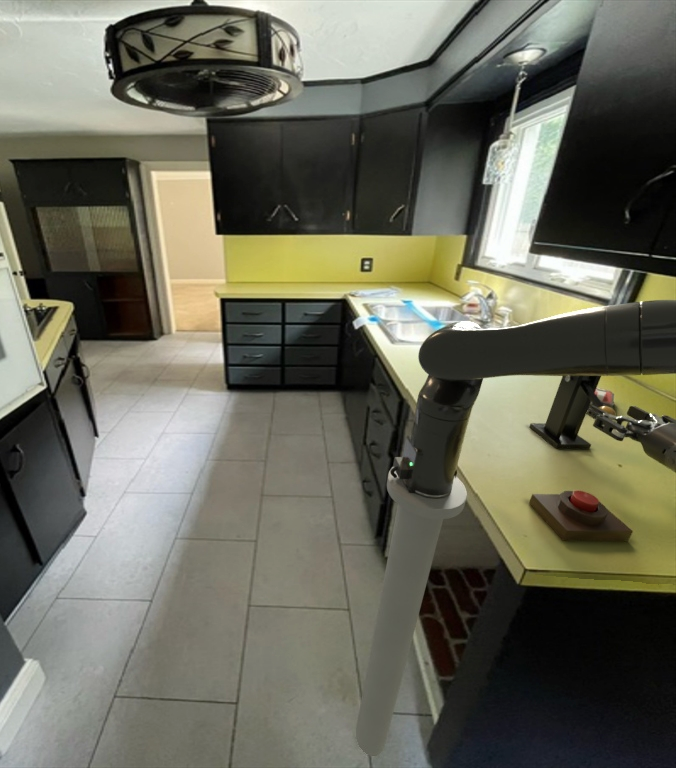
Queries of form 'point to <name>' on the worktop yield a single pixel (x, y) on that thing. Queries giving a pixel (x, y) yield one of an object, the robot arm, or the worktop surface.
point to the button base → (579, 519)
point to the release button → (584, 501)
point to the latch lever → (594, 396)
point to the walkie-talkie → (604, 397)
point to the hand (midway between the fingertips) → (609, 409)
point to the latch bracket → (567, 414)
